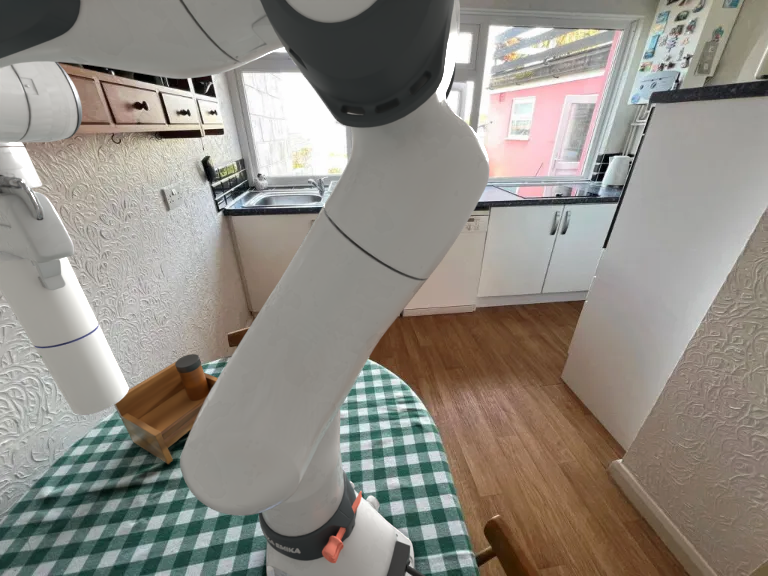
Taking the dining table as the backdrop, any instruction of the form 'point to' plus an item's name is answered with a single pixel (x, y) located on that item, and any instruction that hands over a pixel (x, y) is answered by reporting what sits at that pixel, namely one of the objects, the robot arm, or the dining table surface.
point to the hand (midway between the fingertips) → (40, 282)
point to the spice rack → (165, 405)
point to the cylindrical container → (64, 335)
